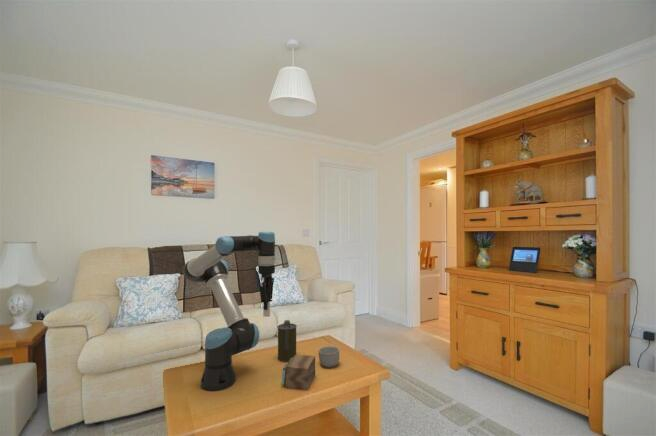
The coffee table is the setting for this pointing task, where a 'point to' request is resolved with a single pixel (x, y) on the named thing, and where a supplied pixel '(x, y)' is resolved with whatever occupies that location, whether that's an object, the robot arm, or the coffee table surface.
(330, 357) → the teacup
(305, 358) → the block
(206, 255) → the robot arm
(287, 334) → the canister
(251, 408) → the coffee table surface
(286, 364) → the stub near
